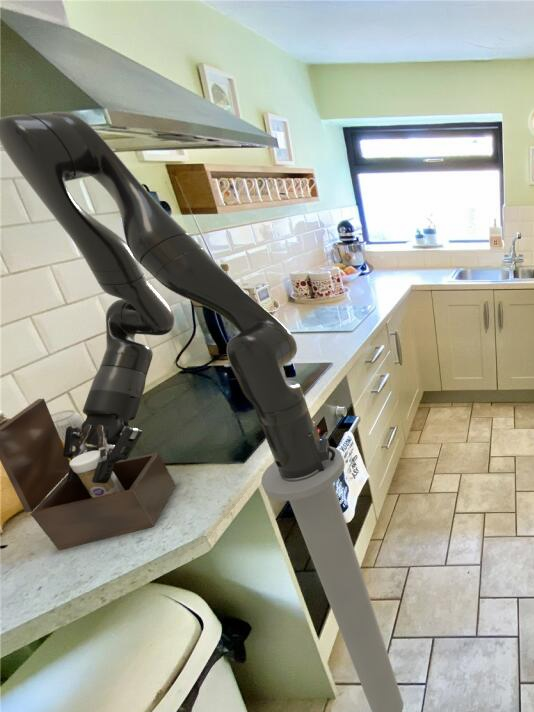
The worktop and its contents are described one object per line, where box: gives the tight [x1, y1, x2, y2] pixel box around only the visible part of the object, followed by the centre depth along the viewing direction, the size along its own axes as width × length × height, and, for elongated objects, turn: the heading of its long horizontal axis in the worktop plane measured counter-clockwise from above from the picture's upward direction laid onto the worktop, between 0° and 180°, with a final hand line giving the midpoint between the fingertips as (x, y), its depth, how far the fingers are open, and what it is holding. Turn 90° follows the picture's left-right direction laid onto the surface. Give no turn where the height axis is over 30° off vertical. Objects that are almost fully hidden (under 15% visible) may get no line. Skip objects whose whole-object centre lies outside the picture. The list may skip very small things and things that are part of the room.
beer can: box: [50, 409, 100, 461], centre depth 92 cm, size 6×6×15 cm
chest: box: [30, 452, 177, 551], centre depth 81 cm, size 15×13×9 cm
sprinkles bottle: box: [69, 451, 125, 498], centre depth 79 cm, size 5×5×13 cm
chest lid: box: [0, 398, 70, 513], centre depth 72 cm, size 15×13×5 cm
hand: (87, 482), depth 77 cm, fingers closed on sprinkles bottle, 4 cm apart
